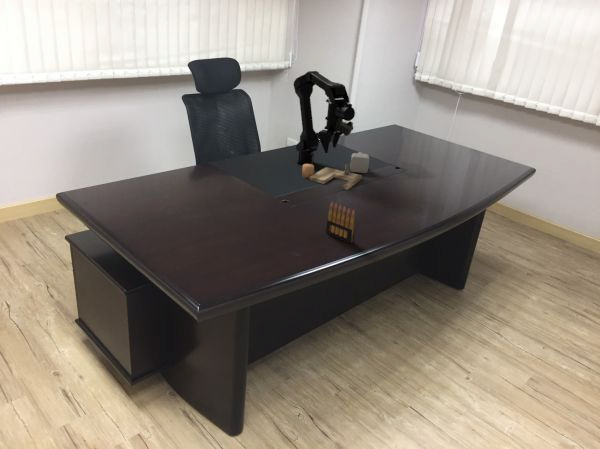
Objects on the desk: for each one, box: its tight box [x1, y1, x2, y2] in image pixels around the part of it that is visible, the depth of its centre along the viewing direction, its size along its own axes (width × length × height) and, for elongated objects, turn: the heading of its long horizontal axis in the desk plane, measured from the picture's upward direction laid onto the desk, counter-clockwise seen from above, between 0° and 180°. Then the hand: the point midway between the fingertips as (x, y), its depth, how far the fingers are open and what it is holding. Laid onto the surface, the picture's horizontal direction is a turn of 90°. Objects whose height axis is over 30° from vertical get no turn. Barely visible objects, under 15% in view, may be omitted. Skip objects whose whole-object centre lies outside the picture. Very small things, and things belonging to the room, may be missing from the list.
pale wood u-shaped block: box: [309, 163, 363, 191], centre depth 218 cm, size 18×16×6 cm
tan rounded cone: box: [301, 164, 315, 179], centre depth 220 cm, size 5×5×5 cm
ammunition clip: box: [325, 201, 356, 244], centre depth 167 cm, size 11×2×12 cm, turn 50°
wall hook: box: [349, 151, 370, 174], centre depth 231 cm, size 8×10×10 cm
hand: (330, 150), depth 217 cm, fingers open, 9 cm apart
